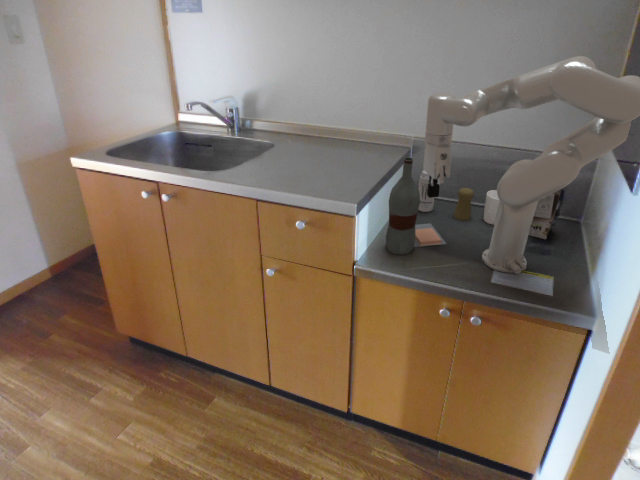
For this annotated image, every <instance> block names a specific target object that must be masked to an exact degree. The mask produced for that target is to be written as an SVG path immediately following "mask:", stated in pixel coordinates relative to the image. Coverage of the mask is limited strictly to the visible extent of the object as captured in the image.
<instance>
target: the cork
mask: <svg viewBox="0 0 640 480" xmlns="http://www.w3.org/2000/svg"><path fill="white" fill-rule="evenodd" d="M474 194H475V193H474V190H473V189H471V188H469V187H463V188H459V190H458V193H457V197H458V200H457V203H456V206H455V209H454V213H453V218H455V219H456V220H459V221H471V215H472V199H473V198H474Z"/></svg>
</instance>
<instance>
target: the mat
mask: <svg viewBox="0 0 640 480" xmlns="http://www.w3.org/2000/svg"><path fill="white" fill-rule="evenodd" d="M426 228H432V229H433V230H434V231H435V232H436V234H437V235H438V236H439V237H440V239H441V244H438V245H439V246H440V245H447V242H446V241H445V239H443V237H442V236H441V235H440V233H439V232H438V231H437V230H436V228H435V227H434V226H433V225H432V223H421V224H420V223H419V224H415V229H426ZM438 245H437V246H438ZM428 246H429V247H430V246H432V245H428ZM428 246H427V247H428ZM419 247H421V246H419V244H418V243H417V241H416V240H415V244H414V247H413V248H419Z"/></svg>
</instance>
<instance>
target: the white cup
mask: <svg viewBox="0 0 640 480" xmlns="http://www.w3.org/2000/svg"><path fill="white" fill-rule="evenodd" d="M484 202H485V203H484V209H483V211H484V212H483V218H482V219H483V221H484V222H486V223H487V224H489V225H493V226H494V225H495V220H496V215H497V212H498V207H499V203H500V200H499V198H498V195H497V189H494V190H493V189H491V190H488V191H487V192H486V197H485V201H484Z"/></svg>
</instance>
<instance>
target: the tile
mask: <svg viewBox="0 0 640 480" xmlns="http://www.w3.org/2000/svg"><path fill="white" fill-rule="evenodd" d="M415 236H416V241H417V243H418V244H419V246H420V247H428V245H431V246H438V244H441V239H440V237H439V236H438V235H437V234H436V232H435V231H434V230H433V229H432V228H426V229H415ZM441 245H442V244H441Z"/></svg>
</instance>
